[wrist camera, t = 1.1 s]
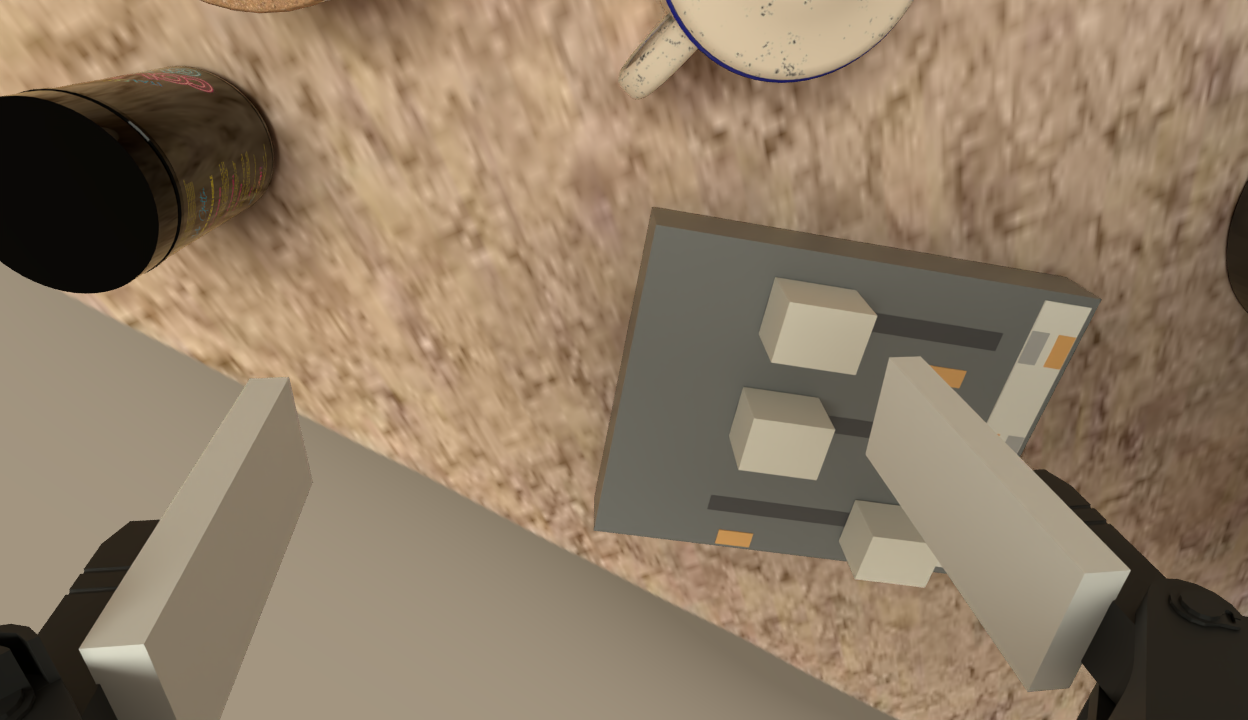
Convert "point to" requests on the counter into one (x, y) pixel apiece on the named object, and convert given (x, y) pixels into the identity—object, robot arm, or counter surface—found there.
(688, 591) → the counter surface
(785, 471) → the middle switch
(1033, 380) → the switch panel
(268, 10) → the lidded jar
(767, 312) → the front switch
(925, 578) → the back switch
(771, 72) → the teacup with lid
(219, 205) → the supplement container
